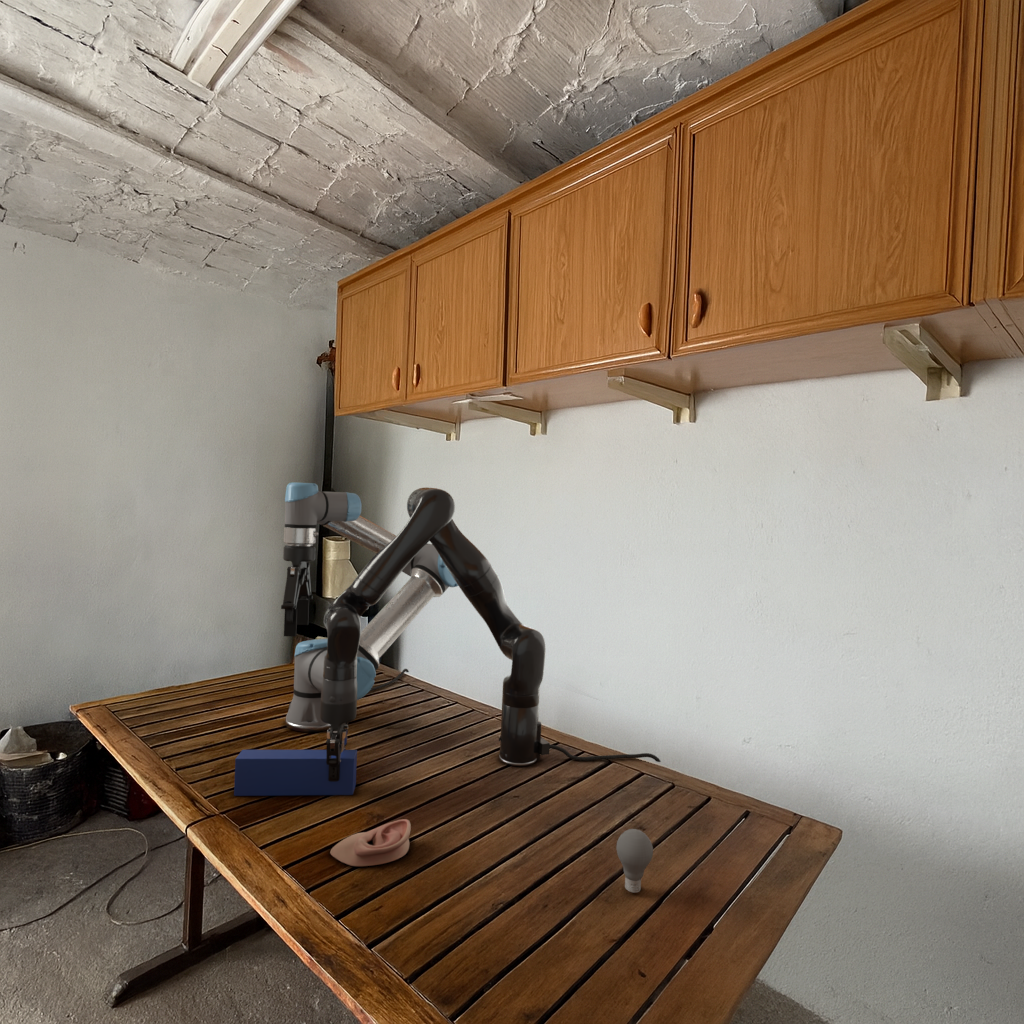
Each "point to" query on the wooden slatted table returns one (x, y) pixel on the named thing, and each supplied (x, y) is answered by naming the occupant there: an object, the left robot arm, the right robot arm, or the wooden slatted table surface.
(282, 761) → the bar
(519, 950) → the wooden slatted table surface
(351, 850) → the anatomical model
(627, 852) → the light bulb
